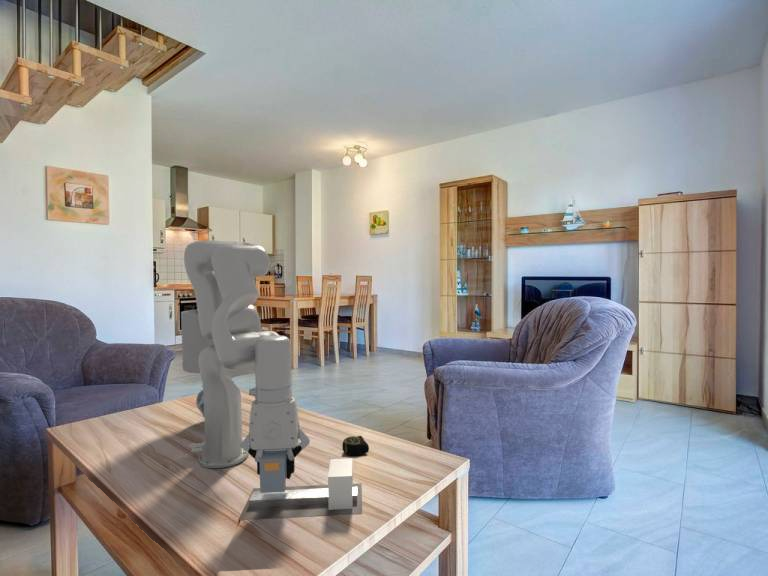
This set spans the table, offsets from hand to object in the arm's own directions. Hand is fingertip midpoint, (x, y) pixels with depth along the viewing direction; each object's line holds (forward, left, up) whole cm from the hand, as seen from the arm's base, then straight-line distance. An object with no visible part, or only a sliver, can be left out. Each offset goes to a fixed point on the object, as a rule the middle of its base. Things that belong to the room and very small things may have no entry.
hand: (276, 475), depth 88 cm
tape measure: (+17, +25, -7) cm, 31 cm away
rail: (+6, 0, -7) cm, 9 cm away
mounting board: (+6, 0, -7) cm, 9 cm away
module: (0, 0, -2) cm, 2 cm away
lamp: (-30, +54, -7) cm, 62 cm away
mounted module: (+14, 0, -6) cm, 15 cm away
